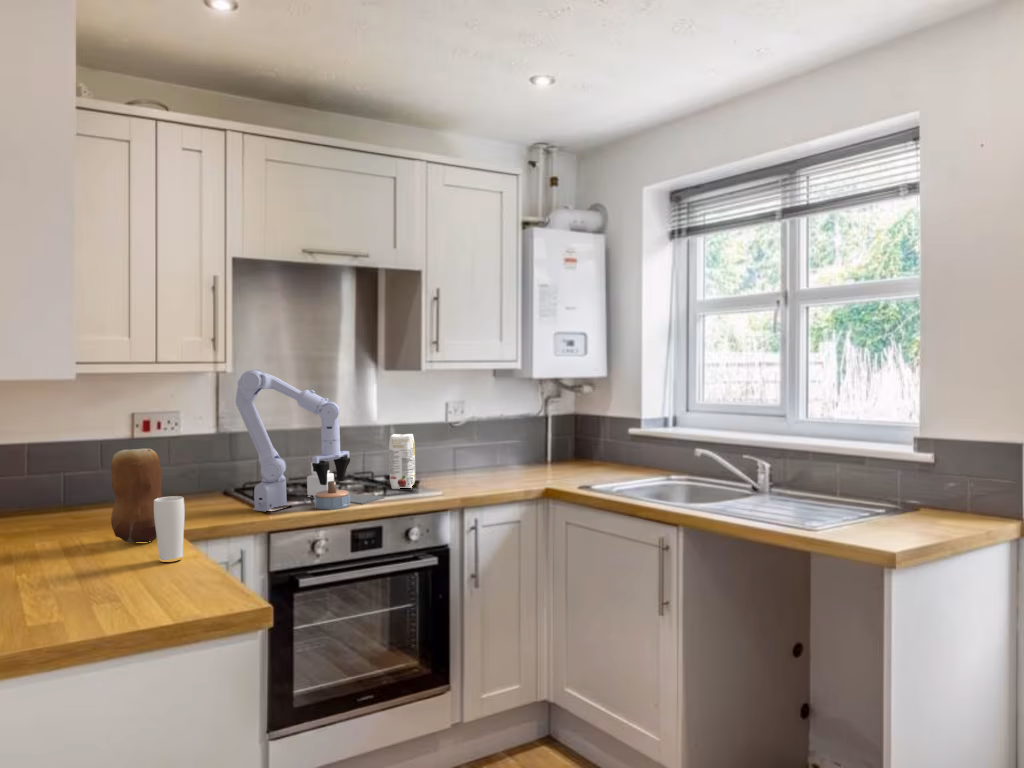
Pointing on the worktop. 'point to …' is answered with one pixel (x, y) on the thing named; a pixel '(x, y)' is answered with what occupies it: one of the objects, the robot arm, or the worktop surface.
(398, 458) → the juice carton
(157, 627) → the worktop surface
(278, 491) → the robot arm
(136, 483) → the butternut squash
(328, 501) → the bowl
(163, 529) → the drinking glass
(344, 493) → the lid
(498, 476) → the worktop surface
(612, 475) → the worktop surface
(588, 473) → the worktop surface
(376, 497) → the mat
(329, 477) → the medicine bottle
